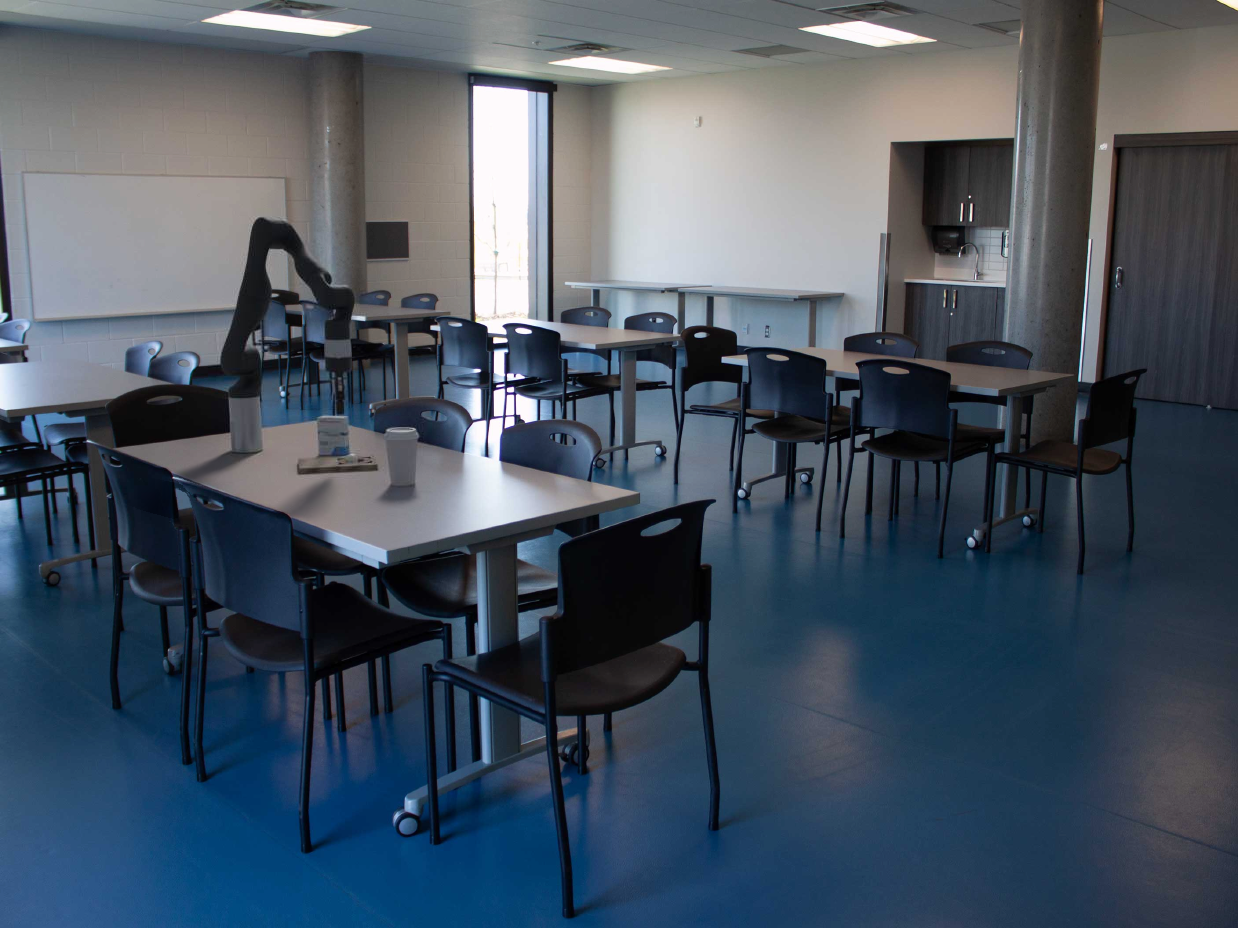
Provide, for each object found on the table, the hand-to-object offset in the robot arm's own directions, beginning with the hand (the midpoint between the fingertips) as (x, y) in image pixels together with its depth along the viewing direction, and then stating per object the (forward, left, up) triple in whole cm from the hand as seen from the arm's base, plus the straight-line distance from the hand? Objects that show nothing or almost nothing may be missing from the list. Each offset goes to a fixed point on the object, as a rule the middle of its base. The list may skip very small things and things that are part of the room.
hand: (340, 414), depth 318 cm
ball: (+3, 0, -14) cm, 14 cm away
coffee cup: (+15, -29, -16) cm, 36 cm away
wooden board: (-1, 0, -16) cm, 16 cm away
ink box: (-1, +20, -16) cm, 26 cm away
